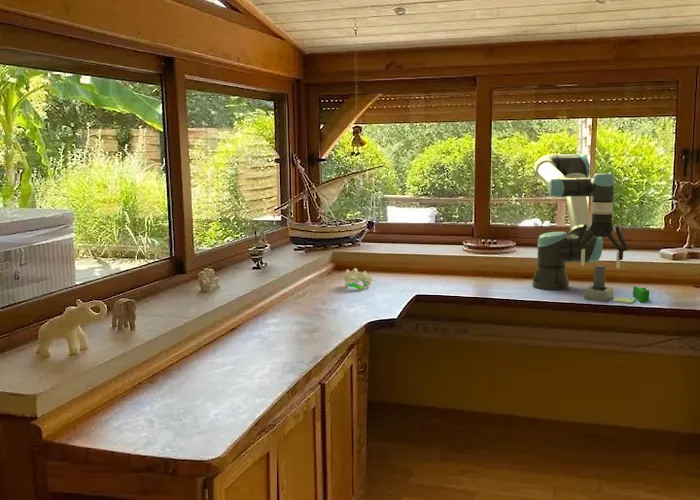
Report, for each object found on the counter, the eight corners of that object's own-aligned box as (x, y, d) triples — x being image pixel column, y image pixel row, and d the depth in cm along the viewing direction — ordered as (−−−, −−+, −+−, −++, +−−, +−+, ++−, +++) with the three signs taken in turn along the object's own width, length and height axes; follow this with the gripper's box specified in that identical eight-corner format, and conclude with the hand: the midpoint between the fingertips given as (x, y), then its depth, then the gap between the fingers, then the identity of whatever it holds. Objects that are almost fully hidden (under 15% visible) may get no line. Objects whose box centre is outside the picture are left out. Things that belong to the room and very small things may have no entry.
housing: (583, 298, 280) (584, 288, 280) (590, 294, 288) (590, 285, 287) (607, 301, 275) (607, 291, 275) (612, 297, 283) (613, 287, 282)
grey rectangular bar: (591, 298, 281) (592, 266, 279) (594, 296, 284) (595, 265, 283) (602, 299, 278) (604, 267, 276) (605, 297, 282) (607, 266, 280)
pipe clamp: (651, 303, 272) (651, 292, 271) (641, 303, 272) (641, 291, 272) (642, 297, 283) (643, 285, 282) (632, 297, 283) (633, 285, 283)
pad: (612, 301, 275) (612, 300, 274) (617, 298, 280) (617, 296, 280) (631, 303, 271) (631, 302, 271) (635, 300, 276) (635, 298, 276)
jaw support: (334, 283, 298) (341, 265, 304) (340, 295, 305) (347, 278, 310) (360, 286, 293) (367, 268, 299) (366, 298, 300) (372, 280, 305)
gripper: (567, 212, 280) (565, 265, 283) (633, 215, 266) (630, 270, 269) (573, 211, 286) (571, 262, 289) (638, 213, 272) (635, 268, 275)
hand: (600, 266), depth 279 cm, fingers open, 13 cm apart
